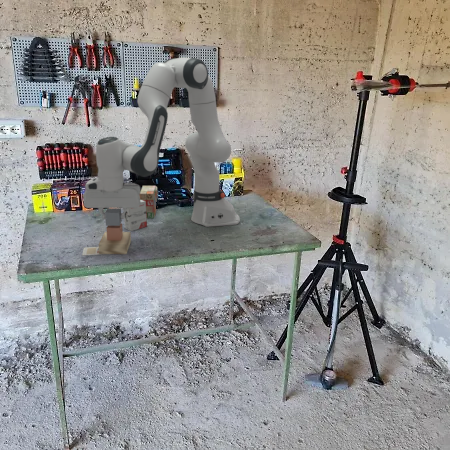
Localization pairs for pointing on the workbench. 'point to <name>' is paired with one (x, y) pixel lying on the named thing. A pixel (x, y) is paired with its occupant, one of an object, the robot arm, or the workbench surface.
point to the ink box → (136, 217)
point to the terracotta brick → (114, 233)
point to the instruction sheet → (91, 251)
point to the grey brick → (113, 217)
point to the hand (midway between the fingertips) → (113, 218)
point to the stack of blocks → (149, 199)
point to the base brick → (115, 244)
